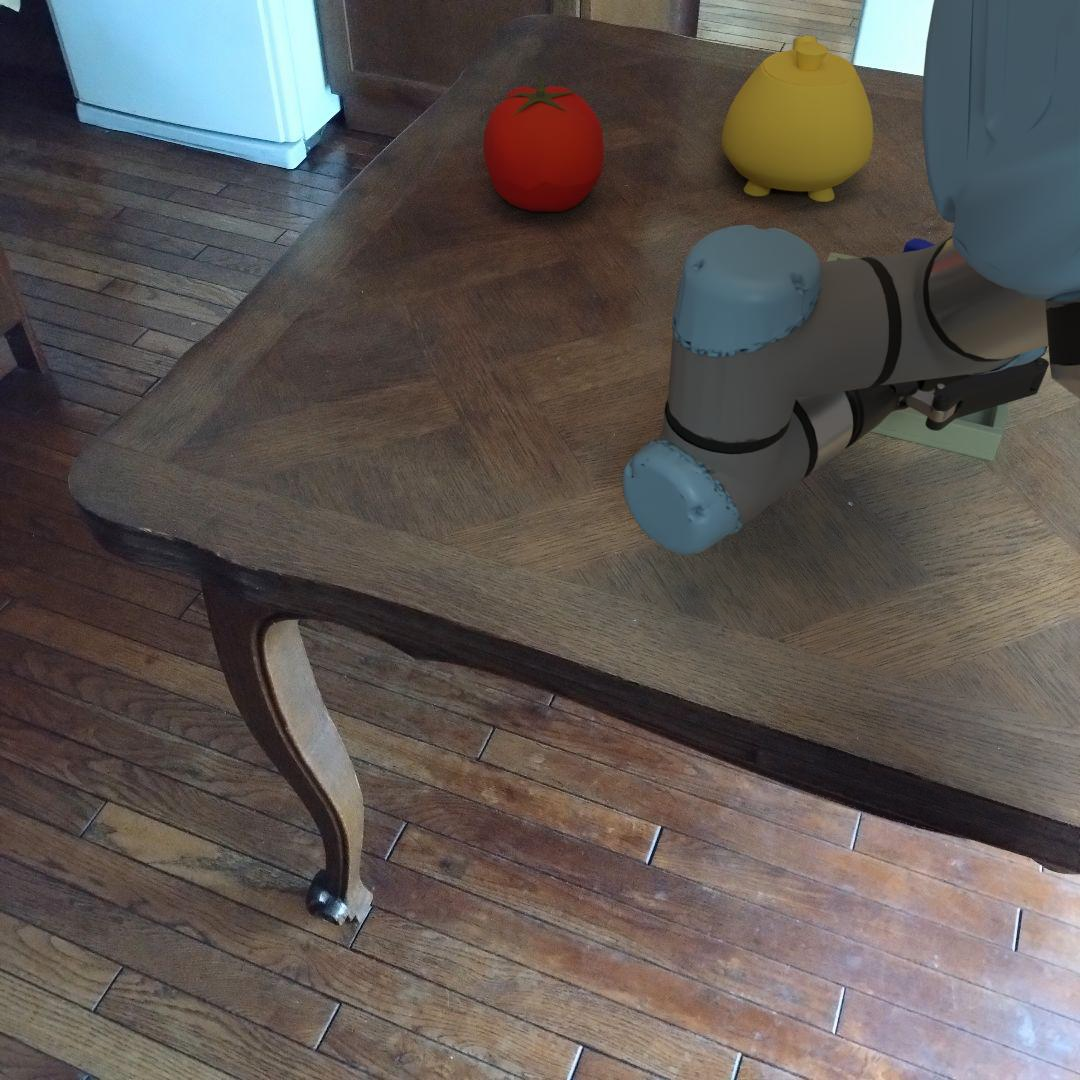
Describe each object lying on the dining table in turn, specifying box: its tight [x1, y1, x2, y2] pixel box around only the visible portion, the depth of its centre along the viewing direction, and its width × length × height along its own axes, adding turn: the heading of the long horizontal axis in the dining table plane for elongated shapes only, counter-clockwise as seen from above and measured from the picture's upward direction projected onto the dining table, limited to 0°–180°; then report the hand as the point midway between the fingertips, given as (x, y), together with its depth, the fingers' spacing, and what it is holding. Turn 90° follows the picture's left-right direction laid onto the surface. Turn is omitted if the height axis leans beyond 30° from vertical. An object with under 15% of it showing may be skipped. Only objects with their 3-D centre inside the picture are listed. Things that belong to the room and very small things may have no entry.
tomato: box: [482, 74, 605, 213], centre depth 107 cm, size 12×13×12 cm
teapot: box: [720, 35, 874, 203], centre depth 111 cm, size 20×16×14 cm
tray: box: [826, 251, 1009, 462], centre depth 90 cm, size 22×18×3 cm
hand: (986, 285), depth 83 cm, fingers closed on mug, 11 cm apart
